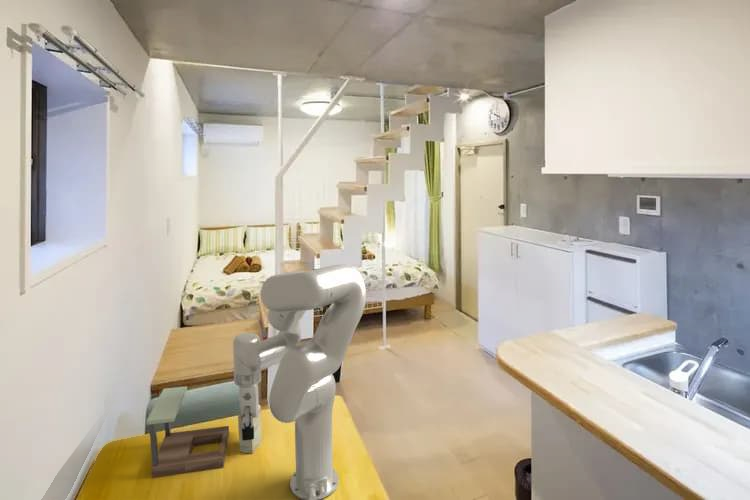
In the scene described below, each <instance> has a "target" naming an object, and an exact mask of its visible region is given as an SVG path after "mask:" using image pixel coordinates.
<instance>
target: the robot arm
mask: <svg viewBox="0 0 750 500" xmlns="http://www.w3.org/2000/svg"><path fill="white" fill-rule="evenodd" d="M260 299H261V302H262V304H263V306H264V307H265V308H266V309H267V310H268V311H267V321H268V323H269V324H270V326H271V327H273V328H274V329H276V330H277V331H278V333H277V334H276V335H273V336H271V337H268V338H266V339H265V338H264V339H262V340H261V338H260V336H259V335H258V334H256V333H253V332H245V333H240V334H237V335H236V336H235V337H234V338H233V341H232V350H233V351H232V353H233V355H232V356H233V380H234V382H233V383H234V384H235V385H236V386H237V387H238V404H239V412H240V418H241V419H243V427H242V440H243V441H244V440H252V439H254V426H253V418H255V417H256V418H257V416H258V408H259V405H260V404H259V403H260V402H259V401H260V400H259V398H260V397H259V383H260V382H262V371H263V370H266V369H267V368H270V367H272V366H275V365H277V364H279V365H278V368H277V370H276V372H275V376H274V379H273V381H272V386H271V388H270V391H269V397H268V398H269V399H268V403H269V404H268V405H269V409H270V412H271V414H272V416H273V417H274V418H275V420H277V421H279V422H281V423H282V424H283V423H285V424H287V423H288V424H289V423H294V445H295V447H294V449H295V472H294V473H293V474H292V475H291V477H290V480H289V487H290V490H291V492H292V494H293V495H294V496H296V497H297V498H298V499H301V500H321V499H325V498H326V497H328V496H330V495H331V494H332V493H334V492H335V491H336V489H337V488H338V486H339V474H338V472H337V471H336V469H334V468H333V410H334V409H333V408H334V402H335V398H336V397H335V396H336V391H337V390H336V389H337V387H336V380H335V376H334V375H333V374H335V373H336V372H337V371H338V370H339V369H340V367H341V365H342V363H343V361H344V358H345V356H346V353H347V350H348V348H349V347H350V343H351V341H352V338H353V335H354V333H355V331H356V328H357V326H358V325H359V323H360V320H361V318H362V316H363V314H364V313H363V312H364V310H365V307H366V303H367V290H366V284H365V281H364V278H363V276H362V275H361V273H360V272H359V271H358V269H357V268H355V267H354V266H352V265H349V264H348V265H347V264H334V265H329V266H324V267H319V268H314V269H310V270H302V269H299V270H298V269H297V270H292V271H287V272H283V273H278V274H275V275H270V276H269V277H268V278H266V279H265V281H264V282H263V283H262V285H261V289H260ZM328 305H329V307H328V308H327V310H326V311H325V312H324V314H322V316H321V318H320V320H319V322H318V325H317V328H316V331H315V333H314V335H313V337H311V338H310V339H309V340H307V341H305V342H302V343H300V341H301V339H302V329H301V326H300V322H301V320H302V319H303V317H304V315H305V313H306V311H312V310H317V309H319V308H323V307H325V306H328ZM299 343H300V344H299ZM244 413H245V416H244ZM250 414H251V416H249V415H250ZM249 419H251V422H249Z"/></svg>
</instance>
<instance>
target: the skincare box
mask: <svg viewBox="0 0 750 500" xmlns="http://www.w3.org/2000/svg"><path fill="white" fill-rule="evenodd" d="M261 409H262V408H261V404H259V408H258V416H257V418H256V417H255V418H253V426H254V439H252V440H244V441H243V440H242V427H243V419H241V418H240V411H239V412H238V413H237V421H238V422H237V424H238V426H237V427H238V442H239V443H238V445H239V452H240V453H246V454H254V453H255V451H256V450H257V449H258V447H260V445H261V444H262V442H263V435H262V433H263V431H262V411H261ZM244 416H245V413H244ZM249 416H251V414H250V415H249ZM249 422H251V419H249Z"/></svg>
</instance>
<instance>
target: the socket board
mask: <svg viewBox="0 0 750 500" xmlns="http://www.w3.org/2000/svg"><path fill="white" fill-rule="evenodd" d="M187 391H188V386H178V387H167V388H163V389H162V391H161V393H160V395H159V396H158V398H157V400H156V402H155V404H154V405H153V407H152V410H151V411H150V413H149V415H148V417H147V419H146V421H145V422H146V424H145V425H148V426H149V437H150V440H149V441H150V451H151V452H150V453H151V463H152V465H151V468H150V469H151V470H150V471H151V478H152V479H155V478H162V477H163V478H164V477H168V476H169V477H171V476H177V475H182V474H183V475H184V474H190V473H197V472H203V471H211V470H216V469H217V470H218V469H224V466H225V461H226V454H227V449H228V448H227V447H228V442H229V436H230V426H229V425H224V426H217V427H215V426H214V427H207V428H200V429H191V430H183V431H176V432H175V431H174V432H171V431H172V430H171V422H173V423H174V422H175V420H176V417H177V415H178V413H179V409H180V408H181V405H182V403H183V400H184V399H185V396H186V393H187ZM163 423H164V432H165V433H164V434H165V435H164V437H163V439H162V442H161V445H160V446H159V449H158V439H157V426H156V425H158V424H163ZM213 444H214V445H215V444H220V448H219V449H218V450H213V451H205V452H203V451H202V452H198V453H192V452H193V450H194V447H197V446H198V447H199V446H206V445H213Z"/></svg>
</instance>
